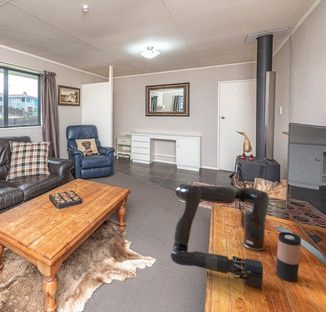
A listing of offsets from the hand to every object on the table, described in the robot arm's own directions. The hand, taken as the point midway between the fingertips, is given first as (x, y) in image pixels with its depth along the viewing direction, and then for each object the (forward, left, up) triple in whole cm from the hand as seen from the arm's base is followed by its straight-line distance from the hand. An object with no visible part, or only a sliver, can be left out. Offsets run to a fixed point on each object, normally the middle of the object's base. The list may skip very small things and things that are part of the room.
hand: (260, 272), depth 99 cm
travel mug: (-14, +8, -7) cm, 18 cm away
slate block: (+1, -3, -6) cm, 7 cm away
